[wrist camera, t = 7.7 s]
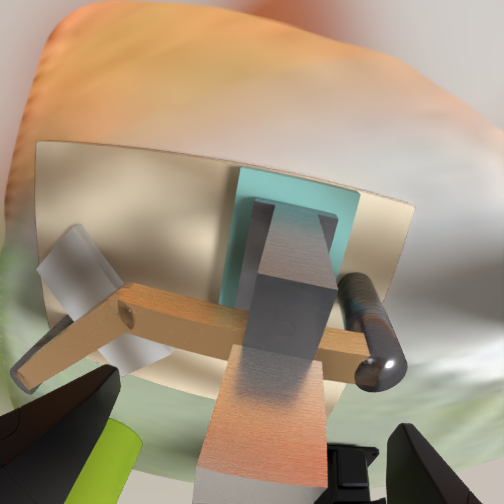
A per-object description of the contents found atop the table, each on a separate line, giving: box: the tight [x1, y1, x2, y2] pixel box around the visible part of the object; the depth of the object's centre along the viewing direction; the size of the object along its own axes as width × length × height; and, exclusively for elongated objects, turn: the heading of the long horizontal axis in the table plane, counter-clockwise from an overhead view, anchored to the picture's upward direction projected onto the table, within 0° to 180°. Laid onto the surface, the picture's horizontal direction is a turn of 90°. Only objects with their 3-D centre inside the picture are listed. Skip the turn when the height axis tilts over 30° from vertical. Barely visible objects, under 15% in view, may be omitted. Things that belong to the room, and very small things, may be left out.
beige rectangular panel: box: [35, 140, 415, 420], centre depth 19 cm, size 17×24×2 cm
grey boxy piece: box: [192, 197, 339, 504], centre depth 11 cm, size 4×8×12 cm, turn 170°
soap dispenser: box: [64, 419, 142, 504], centre depth 19 cm, size 6×7×20 cm
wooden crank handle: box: [10, 272, 407, 394], centre depth 16 cm, size 6×23×7 cm, turn 104°
